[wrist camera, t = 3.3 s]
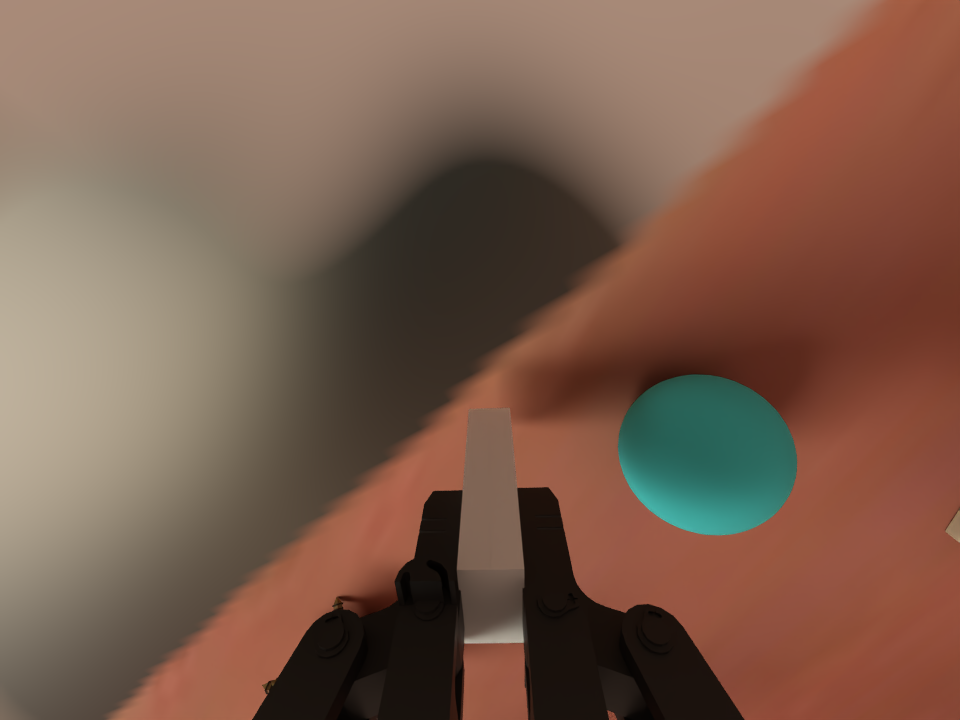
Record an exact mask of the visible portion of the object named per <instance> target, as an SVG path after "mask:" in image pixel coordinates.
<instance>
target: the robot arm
mask: <svg viewBox="0 0 960 720" xmlns="http://www.w3.org/2000/svg"><path fill="white" fill-rule="evenodd" d="M419 531H420V533H419V536H418V541H417V547H416V552H415V557H414V559H413V560H411V561H409V562H407V563H406V564H405V565H404V566H403V567H402V569H401V570H400V571H399V572H398V575H397V577H396V579H395V587H396V591H397V596H398V601H396V602H395V603H394V604H392V605H391V606H390V607H387V608H385V609H383V610H381V611H378V612H375V613H372V614H370V615H367V616H364V617H361V618H359V616H358V615H357V614H356V613H354V612H352V611H350V610H335V611H332V612H329V613H326V614H325V615H323V616H322V617H320V618H319V619H318V620H316V621H315V622H314V623H313V624H312V625H311V627H310V628H309V629H308V630H307V632H306V633H305V635H304V636H303V638H302V639H301V641H300V643H299V644H298V646H297V648H296V649H295V651H294V652H293V654H292V656H291V657H290V659H289V661H288V662H287V664H286V665H285V667H284V669H283V670H282V672H281V674H280V675H279V677H278V678H277V680H276V682H275V683H274V685H273V687H272V688H271V690H270V691H269V693H268V695H267V696H266V698H265V700H264V701H263V703H262V705H261V706H260V708H259V709H258V711H257V713H256V714H255V716H254V718H253V719H252V720H462V717H463V694H464V671H465V670H464V661H463V651H464V643H524V653H525V688H526V694H527V708H528V720H609V717H608V712H607V710H608V711H611V712H613V713H615V716H616V718H617V720H744V718H743V717H742V715H741V714H740V712H739V711H738V709H737V708H736V706H735V705H734V703H733V702H732V700H731V699H730V697H729V696H728V694H727V693H726V691H725V690H724V688H723V687H722V685H721V684H720V682H719V680H718V679H717V677H716V676H715V674H714V673H713V671H712V670H711V668H710V667H709V665H708V664H707V662H706V661H705V659H704V658H703V656H702V655H701V653H700V652H699V650H698V649H697V647H696V646H695V644H694V643H693V641H692V640H691V638H690V637H689V635H688V634H687V632H686V631H685V629H684V628H683V626H682V625H681V624H680V623H679V622H678V621H677V620H676V618H675V617H674V616H673V615H671V614H670V613H668V612H667V611H665V610H663V609H662V608H659V607H656V606H653V605H649V604H644V605H636V606H634V607H632V608H630V609H629V610H628V611H627V612H626V613H624V612H621V611H618V610H615V609H611V608H608V607H605V606H603V605H600V604H598V603H596V602H594V601H593V600H591V599H590V598H588V597H587V596H586V595H585V594H584V593H583V592H582V591H581V590H580V588H579V586H578V585H577V583H576V581H575V578H574V575H573V570H572V565H571V561H570V556H569V551H568V546H567V541H566V537H565V532H564V528H563V522H562V517H561V513H560V508H559V503H558V499H557V498H556V497H555V495H554V494H553V493H552V491H551V490H550V489H549V488H548V487H542V488H517V482H516V471H515V460H514V449H513V438H512V427H511V416H510V408H488V409H469V415H468V429H467V442H466V455H465V468H464V481H463V490H458V491H433V492H432V494H431V495H430V497H429V498H428V500H427V501H426V502H425V504H424V509H423V514H422V521H421V525H420V530H419Z"/></svg>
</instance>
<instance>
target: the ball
mask: <svg viewBox="0 0 960 720" xmlns="http://www.w3.org/2000/svg"><path fill="white" fill-rule="evenodd" d="M618 452H619V460H620V464H621V468H622V471H623V474H624V476H625V478H626V480H627V482H628V484H629V486H630V488H631V489H632V491H633V492H634V494H635V495H636V496H637V498H638V499H639V500H640V501H641V502H642V503H643V504H644V505H645V506H646V507H647V508H648V509H649V510H650V511H651V512H653V513H654V514H655V515H657V516H658V517H660V518H661V519H663V520H664V521H666V522H668V523H670V524H672V525H674V526H676V527H678V528H681V529H684V530H687V531H691V532H695V533H699V534H705V535H729V534H736V533H740V532H744V531H747V530H749V529H752V528H754V527H756V526H758V525H760V524H762V523H764V522H765V521H767V520H768V519H770V518H771V517H772V516H773V515H774V514H776V513H777V512H778V511H779V509H780V508H781V507H782V506H783V504H784V503H785V501H786V500H787V498H788V497H789V495H790V493H791V491H792V488H793V485H794V482H795V478H796V472H797V454H796V449H795V445H794V441H793V438H792V436H791V433H790V431H789V429H788V427H787V425H786V423H785V422H784V420H783V419H782V417H781V416H780V414H779V413H778V412H777V410H776V409H775V408H774V407H773V406H772V405H771V404H770V403H769V402H768V401H767V400H765V399H764V398H763V397H762V396H760V395H759V394H758V393H756V392H755V391H753V390H752V389H750V388H748V387H746V386H744V385H742V384H740V383H738V382H735V381H733V380H729V379H726V378H722V377H719V376H712V375H698V374H694V375H684V376H678V377H674V378H671V379H668V380H665V381H662V382H660V383H658V384H656V385H654V386H652V387H651V388H649V389H648V390H647V391H645V392H644V393H643V394H642V395H640V396H639V397H638V399H637V400H636V401H635V402H634V403H633V404H632V406H631V407H630V408H629V410H628V412H627V413H626V415H625V417H624V420H623V422H622V425H621V428H620V433H619V441H618Z"/></svg>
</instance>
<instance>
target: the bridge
mask: <svg viewBox="0 0 960 720" xmlns="http://www.w3.org/2000/svg"><path fill="white" fill-rule="evenodd" d="M945 532H947V533H948V534H949V535H950V536H952V537H953V538H954V539H955V540H957V541H958V542H959V543H960V509H959V511H958V512H957V514H956V515H955V517H954V518H953V520H952V521H951V523H950V525H949V526H948V528H947V529H946V531H945Z"/></svg>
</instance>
